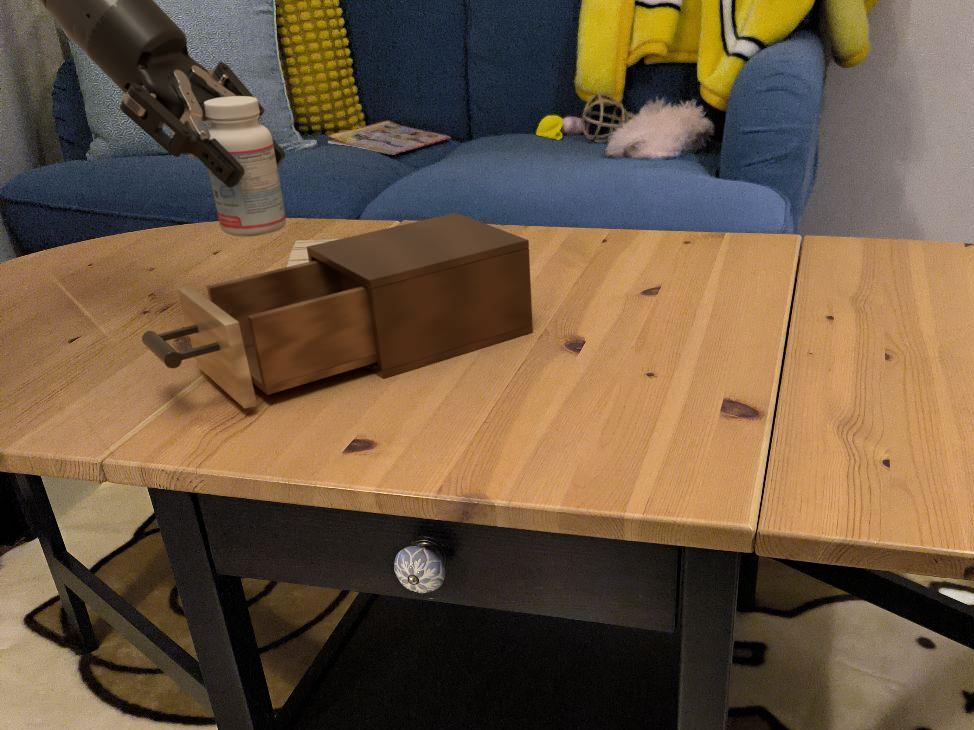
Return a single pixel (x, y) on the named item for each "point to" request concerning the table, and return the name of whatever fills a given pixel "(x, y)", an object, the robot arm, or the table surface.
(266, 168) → the pill bottle
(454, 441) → the table surface
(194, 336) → the drawer
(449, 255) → the cabinet
